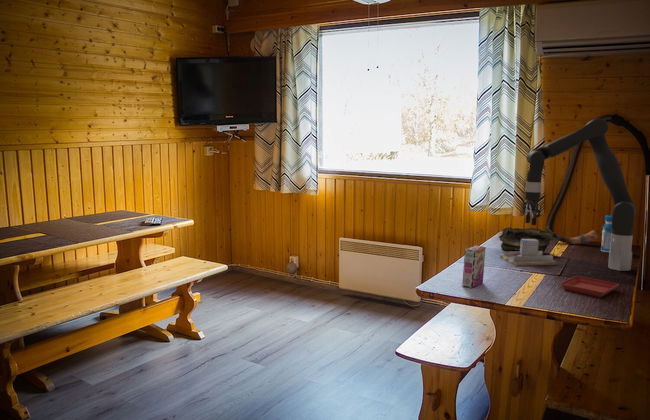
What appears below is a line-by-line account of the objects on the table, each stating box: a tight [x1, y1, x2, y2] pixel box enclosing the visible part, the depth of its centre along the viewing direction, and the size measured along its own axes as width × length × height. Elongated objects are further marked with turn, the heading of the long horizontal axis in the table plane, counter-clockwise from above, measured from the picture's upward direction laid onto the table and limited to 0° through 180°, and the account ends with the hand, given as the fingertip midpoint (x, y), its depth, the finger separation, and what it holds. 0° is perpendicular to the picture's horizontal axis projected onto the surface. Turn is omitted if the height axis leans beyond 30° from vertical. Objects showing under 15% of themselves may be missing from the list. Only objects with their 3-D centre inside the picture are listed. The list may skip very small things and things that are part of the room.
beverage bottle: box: [600, 214, 612, 253], centre depth 309 cm, size 8×8×20 cm
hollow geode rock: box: [498, 227, 555, 254], centre depth 306 cm, size 28×13×15 cm
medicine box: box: [519, 239, 539, 256], centre depth 283 cm, size 8×4×9 cm, turn 85°
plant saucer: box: [560, 275, 620, 298], centre depth 237 cm, size 18×18×3 cm
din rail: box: [503, 250, 554, 261], centre depth 284 cm, size 11×21×2 cm, turn 99°
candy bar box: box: [461, 245, 486, 289], centre depth 240 cm, size 11×5×16 cm, turn 141°
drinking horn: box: [545, 225, 599, 245], centre depth 327 cm, size 6×29×10 cm, turn 78°
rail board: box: [499, 254, 557, 267], centre depth 284 cm, size 16×22×2 cm
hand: (530, 223), depth 281 cm, fingers open, 5 cm apart
